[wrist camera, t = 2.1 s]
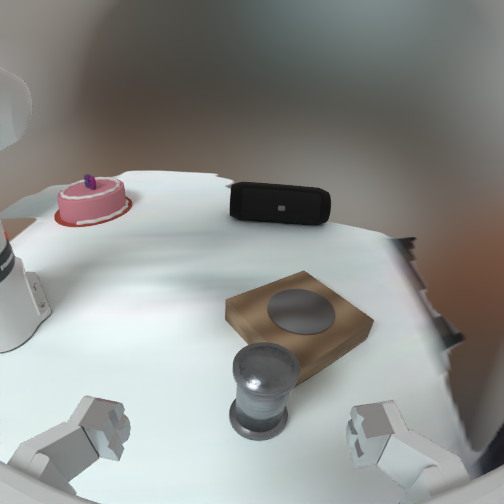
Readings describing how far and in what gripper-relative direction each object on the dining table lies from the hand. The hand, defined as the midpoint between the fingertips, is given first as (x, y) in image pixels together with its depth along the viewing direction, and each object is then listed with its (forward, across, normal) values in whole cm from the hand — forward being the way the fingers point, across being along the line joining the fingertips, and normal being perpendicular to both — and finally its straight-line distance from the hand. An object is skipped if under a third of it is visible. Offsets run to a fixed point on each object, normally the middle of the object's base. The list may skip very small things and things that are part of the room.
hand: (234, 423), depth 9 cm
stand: (+34, -7, +17) cm, 38 cm away
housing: (+18, -1, +20) cm, 27 cm away
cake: (+75, +48, +3) cm, 89 cm away
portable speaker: (+74, -6, +8) cm, 75 cm away
